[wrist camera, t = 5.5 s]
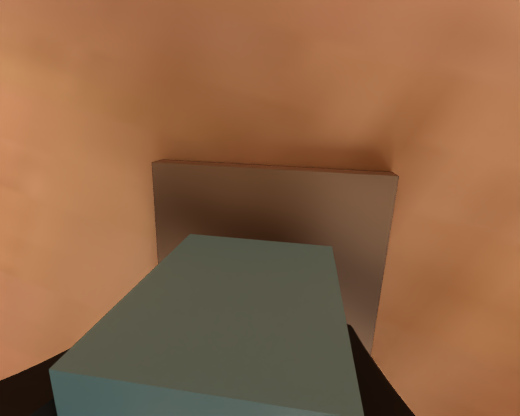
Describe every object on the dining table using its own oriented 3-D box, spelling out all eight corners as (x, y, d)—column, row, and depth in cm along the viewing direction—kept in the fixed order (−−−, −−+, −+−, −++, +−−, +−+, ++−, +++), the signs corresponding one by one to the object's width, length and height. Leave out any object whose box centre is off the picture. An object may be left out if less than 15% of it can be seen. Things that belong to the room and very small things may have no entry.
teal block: (319, 367, 12) (330, 626, 6) (193, 350, 13) (86, 565, 7) (332, 246, 11) (365, 419, 5) (190, 233, 12) (49, 369, 5)
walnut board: (337, 531, 19) (339, 553, 18) (180, 498, 20) (174, 517, 19) (392, 172, 13) (398, 176, 12) (162, 159, 14) (151, 162, 13)
